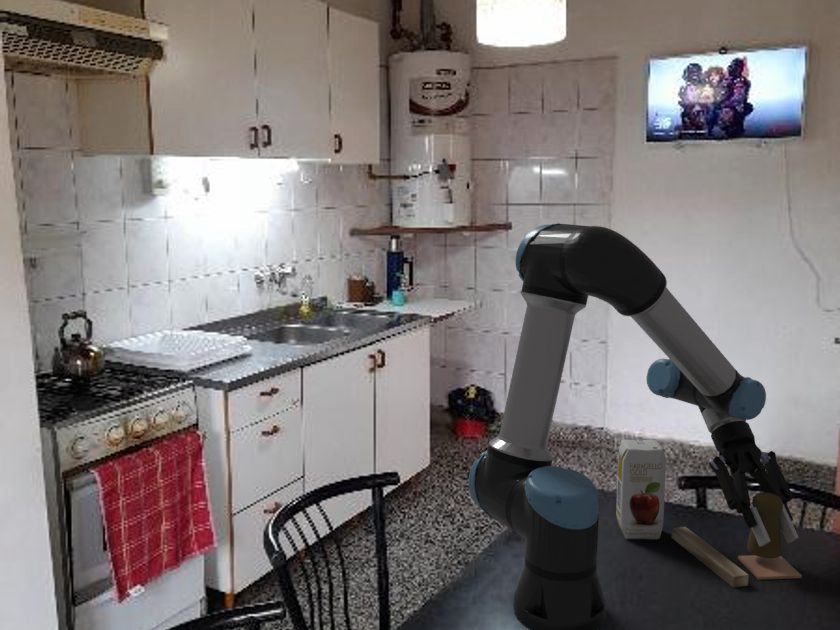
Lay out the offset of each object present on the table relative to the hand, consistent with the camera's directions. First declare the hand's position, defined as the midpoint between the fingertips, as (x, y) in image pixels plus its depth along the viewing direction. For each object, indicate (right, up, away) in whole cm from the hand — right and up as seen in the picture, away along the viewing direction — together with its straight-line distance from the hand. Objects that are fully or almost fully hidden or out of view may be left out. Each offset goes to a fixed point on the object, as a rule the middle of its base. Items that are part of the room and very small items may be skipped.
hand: (778, 541), depth 139 cm
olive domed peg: (-1, -3, +4) cm, 5 cm away
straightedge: (-11, -5, +6) cm, 13 cm away
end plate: (-1, -5, +2) cm, 6 cm away
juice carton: (-21, -3, +17) cm, 27 cm away
